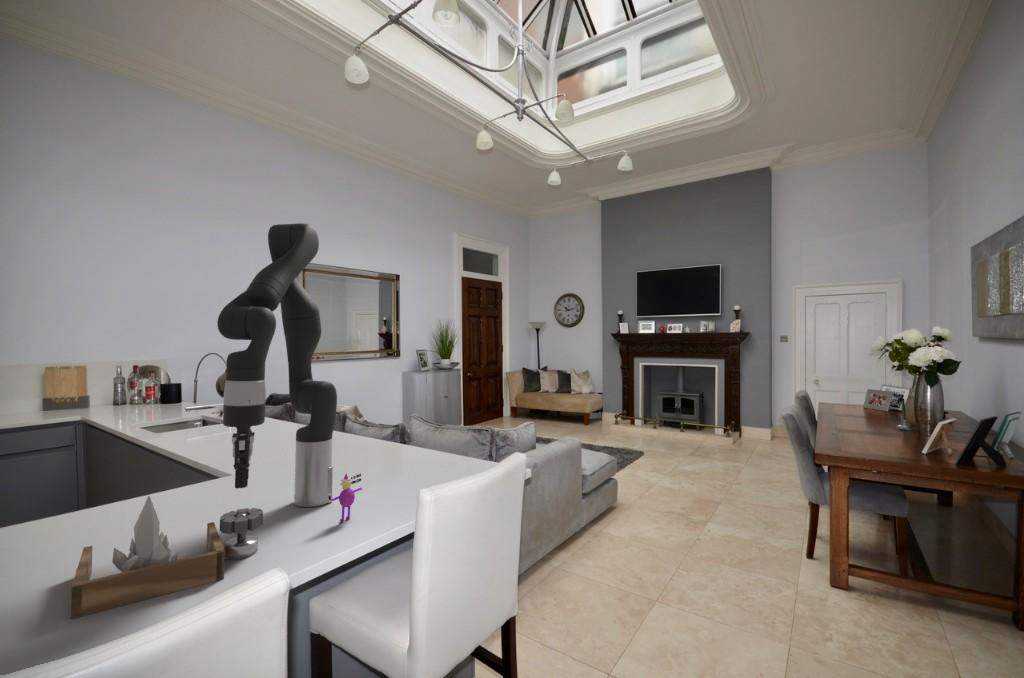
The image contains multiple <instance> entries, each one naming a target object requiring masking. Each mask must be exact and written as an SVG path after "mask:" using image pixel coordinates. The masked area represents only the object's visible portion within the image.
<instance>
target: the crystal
mask: <svg viewBox="0 0 1024 678" xmlns="http://www.w3.org/2000/svg"><path fill="white" fill-rule="evenodd" d="M133 535H134V536H133V537H134V538H133V537H131V541H130V545H129V549H128V551H129V554H128V555H126V554H125V553H124V552H122V551H120V550H119V549H117V548H116V547H113V553H112V563H113V565H114V566H115V567H116V569H118V570H119V571H120V573H122V572H126V571H131V570H135V569H140V568H144V567H148V566H153V565H157V564H161V563H166V562H170V561H174V560H179V559H180V557H179V554H178V553H177V552H176V553H175V554H174V555H172V549H171V548H170V547H169V545H170V544H169V543H170V542H169V539H168V536H167V534H164V532H163V531H161V532H160V519H159V517H158V514H157V512H156V509H155V507H154V504H153V501H152V498H151V495H148V496H147V499H146V500H145V502H144V505H143V507H142V508H141V512H140V513H139V516H138V517H137V520H136V522H135V524H134V527H133Z"/></svg>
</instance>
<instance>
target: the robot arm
mask: <svg viewBox="0 0 1024 678" xmlns="http://www.w3.org/2000/svg"><path fill="white" fill-rule="evenodd" d="M267 243H268V249H269V250H268V251H269V254H270V255H269V256H270V258H271V263H269V264H267V265H266V266H265V267H263V268H262V269H261V270H260V271H259V272H258V273H256V275H255V276H254V278H253V279H252V280H251V282H250V284H249V285H248V287H247V288H246V290H244V291H243V292H242V293H240V294H238V295H237V296H236V297H235V298H234V299H232V300H231V301H229V303H227V304H226V305H225V306H224V308H222V310H220V312H219V314H218V318H217V326H216V327H217V329H218V332H219V334H221V336H223V338H226V339H227V340H234V341H235V340H236V341H240V340H241V341H249V345H248V347H246V349H244V350H240V351H233V352H231V353H229V354H228V355H227V357H226V362H225V363H226V366H225V367H226V369H225V370H226V371H225V385H224V390H223V408H222V425H223V426H225V427H227V428H233V427H234V428H236V432H234V433H232V436H231V443H232V458H233V459H234V460H233V461H234V464H233V469H234V470H235V473H234V488H235V489H244V488H247V487H248V486H249V485H248V482H249V481H248V480H249V476H250V475H249V473H250V466H251V464H250V462H251V457H253V451H254V443H255V431H253V430H252V428H251V427H256V426H260V425H263V424H264V423H265V422H266V421H265V420H266V419H265V415H266V392H267V390H266V384H265V383H266V382H265V381H266V378H265V377H266V360H267V356H268V354H269V350H270V346H271V344H272V341H273V338H274V336H275V332H276V330H277V318H276V315H275V314H274V311H276V310H277V308H278V307H279V305H280V309H281V310H280V312H281V313H280V314H281V322H282V327H283V328H282V329H283V335H284V340H285V344H286V345H285V346H286V347H285V348H286V354H287V355H286V357H287V365H288V366H287V367H288V394H289V401H290V404H291V407H292V409H293V410H294V411H295V412H296V413H299V414H304V415H310V419H309V423H308V424H307V425H305V426H302V427H300V428H298V429H297V430H296V431H295V453H294V454H295V456H294V457H295V458H294V462H295V463H294V464H295V465H294V494H293V496H294V500H293V502H294V503H293V504H294V505H295V506H297V507H300V508H312V507H319V506H323V505H326V504H328V500H329V494H331V499H333V483H334V482H333V478H334V476H333V474H334V473H333V471H334V469H333V461H332V460H333V433H334V430H335V426H336V419H337V418H336V417H337V406H338V393H337V389H336V387H335V385H334V384H333V383H332V382H329V381H324V380H313V373H312V372H313V371H312V360H313V356H314V354H315V351H316V349H317V346H318V345H319V343H320V339H321V335H322V324H321V317H320V316H321V315H320V309H319V307H318V305H317V303H316V302H315V301H314V299H313V298H312V297H311V295H310V294H309V293H308V291H307V290H306V289H305V287H303V286H302V284H301V283H300V281H299V279H298V276H299V275H300V274H301V273H302V272H303V271H304V270H305V268H306V267H307V266H308V265H309V264H310V263H311V262H312V261H313V260H314V259H315V257H316V255H317V254H318V251H319V249H320V240H319V236H318V233H317V231H316V228H315V227H314V226H312V224H311V225H310V224H308V223H299V222H298V223H280V224H273V225H272V226H270V228H269V229H268V234H267Z"/></svg>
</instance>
